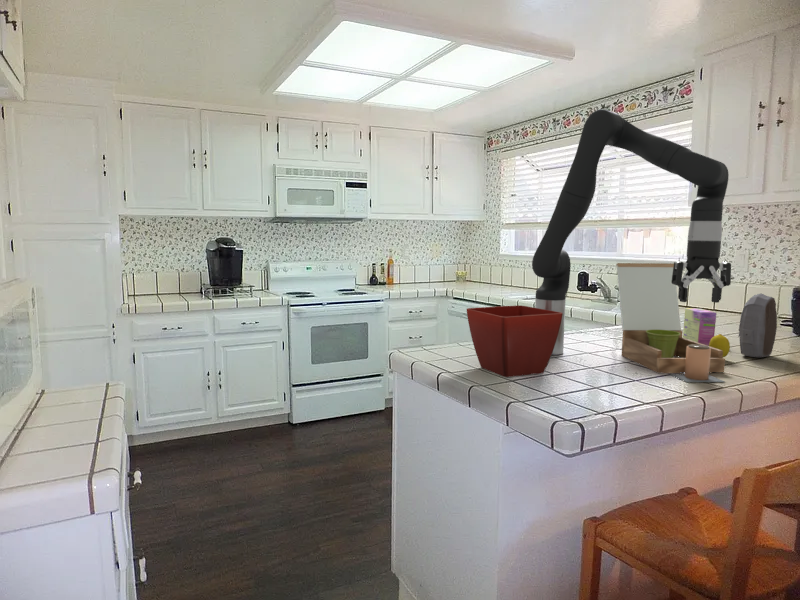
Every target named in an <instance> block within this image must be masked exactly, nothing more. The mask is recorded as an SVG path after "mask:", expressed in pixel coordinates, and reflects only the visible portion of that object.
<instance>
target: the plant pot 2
mask: <svg viewBox="0 0 800 600" xmlns="http://www.w3.org/2000/svg"><path fill="white" fill-rule="evenodd" d="M646 333H647V335H648V338H649V346H651V347H654V348H656V349H659V350H661V351H662V356H661V358H674V357H675V356H674V352H675V347H676V343H677V340H678V338H679V336H680V335H681V333H679V332H676V331H670V330H647V331H646Z"/></svg>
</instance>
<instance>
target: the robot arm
mask: <svg viewBox="0 0 800 600" xmlns="http://www.w3.org/2000/svg"><path fill="white" fill-rule="evenodd" d="M606 146H610V147H615V148H618V149H622V150H625V151H629V152H631V153H633V154H635V155H637V156H639V157H640V158H642V159H643V160H645V161H646V162H648V163H650V164H652V165H654V166H656V167H657V168H660V169H662V170H664V171H667V172H669V173H672V174H674V175H677V176H679V177H680V178H682V179H684V180H686V181H687V182H689V183H692V184H693V185H695V186H697V191H696V197H695V199H694V200H693V202H692V203H691V210H690V219H689V221H690V222H689V227H688V233H687V245H686V246H687V247H686V258H687V259H686V261H685V262H683V261H674V262H673V263H674V267H673V274H672V282H671V283H672V284H674V285H676V287H678V291H677V297H678V300H679V302H681V303H687V302H688V291H689V288H688V287H689V285H690V284H691V283H692V282H694V281H695V279H697V280H701V279H703V280H708V282H709V281H710V283H711V285H712V287H711V288H712V291H711V302H712V303H720V301H721V299H722V293H723V292H722V291H723V288H724V287H727V286H728V287H729V286H731V282H732V281H731V280H732V279H731V278H732V263H731V262H728V261H725V262H724V261H722V262H720V261H719V258H720V257H721V249H722V248H721V246H722V236H723V226H722V225H723V224H722V221H723V209H724V208H723V205H724V201H725V200H724V199H725V197H726V193H727V189H728V185H729V169H728V167H727V165H726V164H725V163H723V162H722V161H720V160H717V159H715V158H711V157H708V156H706V155H703V154H701V153H698V152H695V151H693V150H691V149H689V148H688V147H686V146H683V145H682V144H679V143H677V142H674V141H671V140H670V139H666V138H665V137H664V138H663V137H660V136H658V135H655V134H652V133H649V132H647V131H645V130H643V129H640V128H639V127H638V126H635V125H634V124H632V123H630V122H629V121H628V120H627V119H625V118H623V116H621V115H620V114H619V113H617V112H614V111H611V110H607V109H603V108H599V109H596V110H594V111H593V112H591V113H590V114H589V116H588V117H587V118H586V120H585V122H584V125H583V127H582V131H581V135H580V138H579V141H578V145H577V149H576V153H575V156H574V158H573V161H572V164H571V166H570V169H569V171H568V174H567V177H566V179H565V182H564V185H563V187H562V189H561V190H560V191H561V192H560V194H559V196H558V199H557V201H556V202H557V203H556V206H555V208H554V211H553V212H552V215H551V217H550V221H549V222H548V225H547V228H546V229H545V232H544V235H543V237H542V238H541V241H540V242H539V244H538V246H537V248H536V249H535V252H534V254H533V256H532V261H531V267H532V271H533V274H534V275H535V276H537V277H539V278H543V280H542V283H541V285H540V286H538V288H536V290H535V302H534V303H535V304H534V305H535V306H534V308H539V309H545V310H550V311H556V312H561V313H563V314H562V320H561V325H560V329H559V333H558V337H557V340H556V343H555V346H554V349H553V352H552V355H555V356H556V355H557V356H559V355H563V353H564V343H565V342H564V340H565V317H566V301H567V300H566V297H567V293H568V291H569V288H570V287H569V286H570V279H571V278H570V277H571V257H570V256H569V253H568V252H567V251H566V250H565V249H563V248H564V246H565V243H566V241H567V239H568V238H569V236H570V235H571V233H572V232H573V231H574V230H575V229H576V228H577V226H578V225H579V224H580V223H581V222H582V221H583V219H584V218H585V216H587V213H588V211H589V208H590V205H591V204H592V201H593V198H594V196H595V192H596V189H597V188H596V187H597V171H598V165H599V161H600V158H601V156H602V154H603V152H604V149H605V148H606ZM685 269H686V272H685V273H684V272H683V271H684V270H685ZM718 270H719V271H720V276H719V274H718V273H717V271H718ZM683 273H684V275H683ZM552 355H551V356H552Z"/></svg>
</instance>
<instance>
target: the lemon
mask: <svg viewBox="0 0 800 600" xmlns="http://www.w3.org/2000/svg"><path fill="white" fill-rule="evenodd" d="M730 344H731V343H730V340H729V339H728V338H727V337H726V335H725V336H724V335H722V333H719V334H717V335H714V337H713V338H712V339H711V340H710V343H709V346H710V347H713V348H716V349H719V350H722V351H723V356H722V358H726V356H728V354H729V353H730V351H731V345H730Z"/></svg>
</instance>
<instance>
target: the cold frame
mask: <svg viewBox="0 0 800 600" xmlns="http://www.w3.org/2000/svg"><path fill="white" fill-rule="evenodd" d="M646 331H647V330H623V331H622V342H621V356H622V357H624V358H626V359H627V360H630V361H633V362H634V363H636V364H637V365H638V364H639V365H640V366H643V367H645V368H647V369H649V370H651V371H653V372H655V373H656V374H681V373H680V372H685V362H686V348H687V346H688V345H691V344H696V345H704V344H701V343H698V342H695V341H692V340H689V339H685V338H683V330H682V329H681V330H670V331H676V332H679V333H681V335H680V336H679V338H678V340H677V343H676V347H675V352H674V356H673V358H661V356H662V351H661V350H659V349H656V348H654V347H651V346H649V338H648V335H647V333H646ZM705 346H707V345H705ZM708 347H709V348H711V356H710V369H709V372H724V373H725V365H726V358H725V357H723V358H722V356H723V351H722V350H719V349H716V348H713V347H710V346H708ZM678 356H679V357H678ZM680 357H681V358H680Z"/></svg>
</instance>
